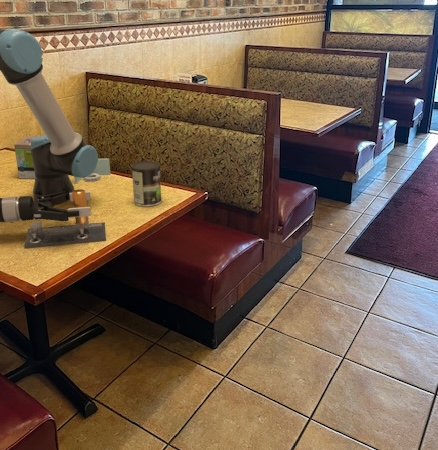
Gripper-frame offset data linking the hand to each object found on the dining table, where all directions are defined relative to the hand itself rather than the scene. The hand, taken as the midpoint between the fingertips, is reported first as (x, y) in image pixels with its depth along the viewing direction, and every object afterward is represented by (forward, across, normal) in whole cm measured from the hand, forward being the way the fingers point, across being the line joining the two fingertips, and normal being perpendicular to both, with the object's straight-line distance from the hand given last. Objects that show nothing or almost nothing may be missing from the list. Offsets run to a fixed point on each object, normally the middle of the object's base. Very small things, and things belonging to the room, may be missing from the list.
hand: (90, 203), depth 157 cm
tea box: (-23, -64, -10) cm, 69 cm away
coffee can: (+20, -22, -10) cm, 31 cm away
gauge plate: (-8, +2, -10) cm, 13 cm away
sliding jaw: (-3, +2, -8) cm, 9 cm away
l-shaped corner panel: (0, -52, -10) cm, 53 cm away
